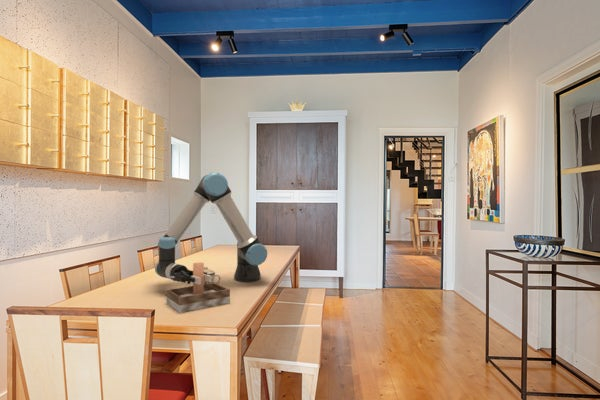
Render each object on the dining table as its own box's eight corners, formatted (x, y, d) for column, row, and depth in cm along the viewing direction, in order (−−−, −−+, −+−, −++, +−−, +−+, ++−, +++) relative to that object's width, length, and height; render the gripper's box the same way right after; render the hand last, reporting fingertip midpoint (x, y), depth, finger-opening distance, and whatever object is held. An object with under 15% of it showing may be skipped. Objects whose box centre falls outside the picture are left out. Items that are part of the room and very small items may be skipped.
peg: (201, 298, 155) (201, 262, 155) (205, 300, 151) (205, 263, 151) (191, 299, 152) (191, 263, 152) (195, 302, 149) (195, 264, 149)
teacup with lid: (197, 293, 168) (197, 269, 168) (194, 289, 176) (194, 266, 176) (222, 290, 173) (222, 267, 173) (218, 286, 181) (218, 264, 181)
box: (214, 295, 165) (214, 282, 165) (229, 303, 152) (229, 289, 152) (166, 303, 151) (166, 289, 151) (179, 313, 138) (179, 298, 139)
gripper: (193, 277, 170) (222, 285, 155) (159, 283, 157) (186, 292, 141) (193, 262, 170) (222, 268, 155) (159, 267, 157) (186, 274, 142)
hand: (205, 280), depth 148 cm, fingers open, 4 cm apart
